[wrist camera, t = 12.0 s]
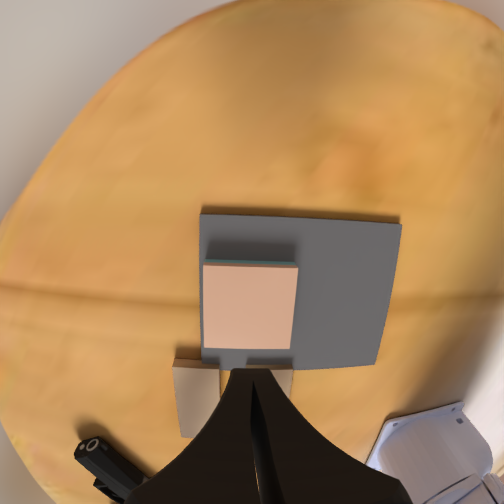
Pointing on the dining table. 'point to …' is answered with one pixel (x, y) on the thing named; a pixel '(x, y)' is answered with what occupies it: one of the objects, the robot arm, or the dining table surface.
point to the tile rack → (208, 390)
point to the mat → (312, 284)
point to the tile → (248, 303)
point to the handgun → (108, 469)
